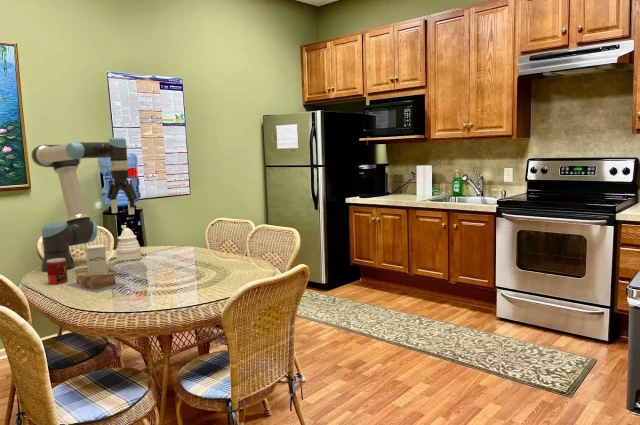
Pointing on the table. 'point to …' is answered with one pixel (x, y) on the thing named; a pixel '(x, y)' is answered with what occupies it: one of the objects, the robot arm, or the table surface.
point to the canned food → (57, 271)
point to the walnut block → (97, 281)
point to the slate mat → (96, 289)
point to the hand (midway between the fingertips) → (123, 213)
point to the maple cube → (79, 278)
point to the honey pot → (127, 245)
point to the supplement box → (96, 260)
